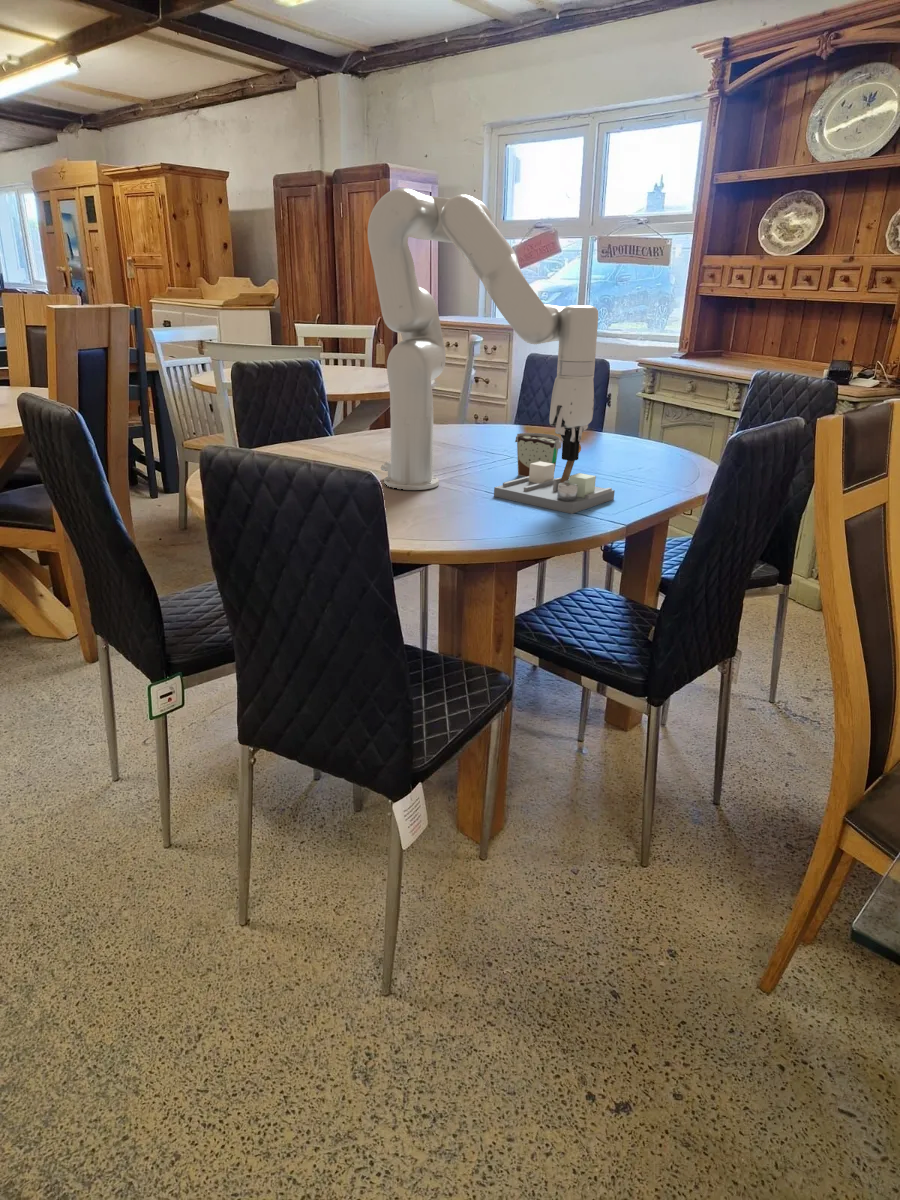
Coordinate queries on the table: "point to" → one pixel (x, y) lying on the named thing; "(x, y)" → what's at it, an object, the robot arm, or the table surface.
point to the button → (567, 492)
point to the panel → (550, 495)
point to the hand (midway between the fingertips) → (569, 459)
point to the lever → (568, 469)
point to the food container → (536, 450)
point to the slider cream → (541, 472)
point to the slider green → (583, 483)
